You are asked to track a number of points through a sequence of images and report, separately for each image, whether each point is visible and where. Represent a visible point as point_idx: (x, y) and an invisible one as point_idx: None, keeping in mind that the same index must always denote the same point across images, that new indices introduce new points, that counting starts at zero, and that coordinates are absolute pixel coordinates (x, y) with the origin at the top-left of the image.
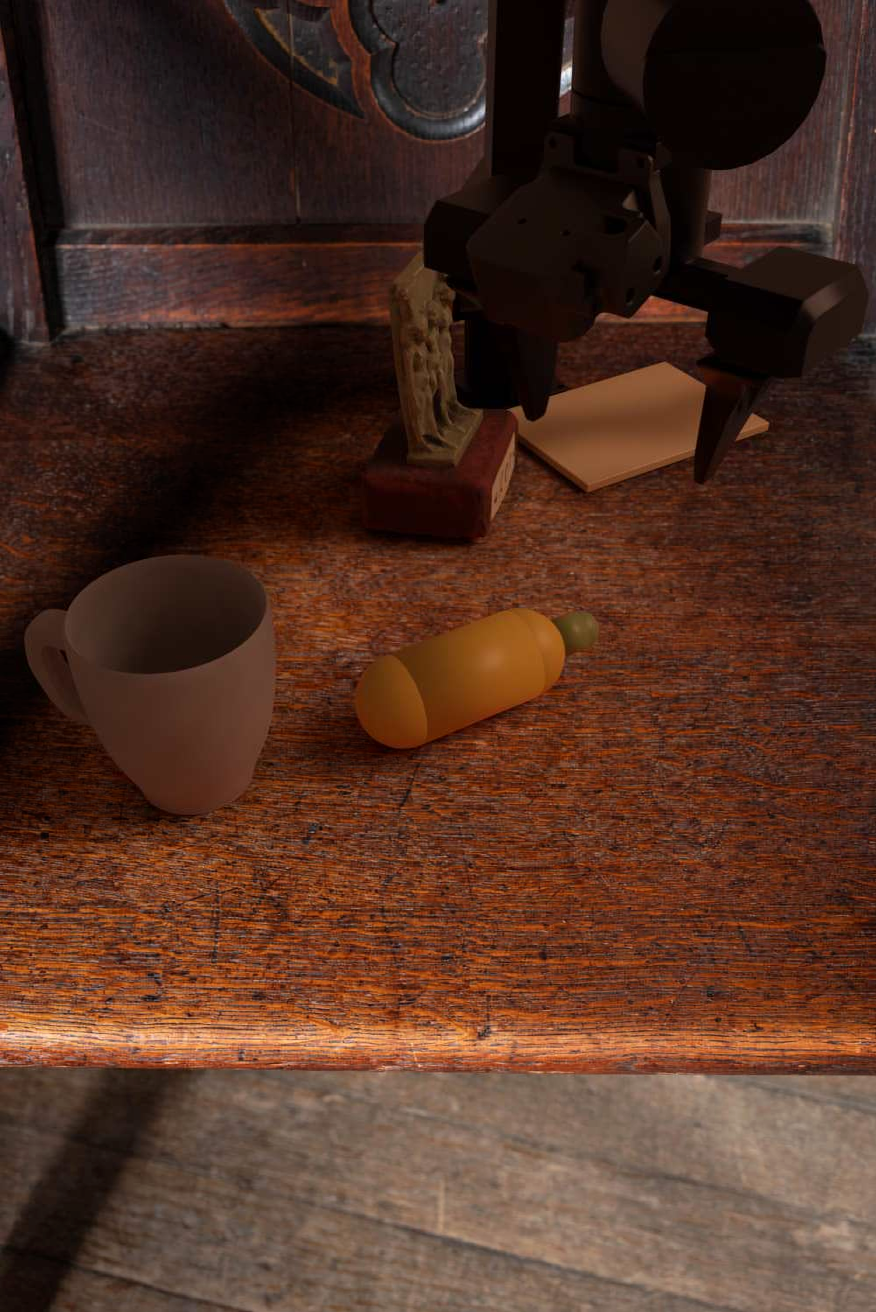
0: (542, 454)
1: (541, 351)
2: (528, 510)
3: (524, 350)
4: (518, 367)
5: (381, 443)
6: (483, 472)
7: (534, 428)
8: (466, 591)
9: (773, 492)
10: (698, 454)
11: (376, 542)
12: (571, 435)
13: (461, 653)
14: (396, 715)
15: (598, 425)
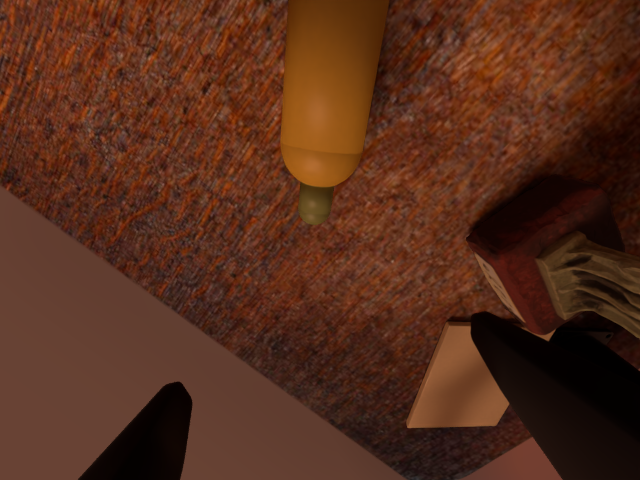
0: None
1: (576, 449)
2: (464, 282)
3: (622, 440)
4: (588, 386)
5: (617, 232)
6: (509, 270)
7: None
8: (434, 189)
9: (362, 393)
10: (138, 434)
11: (533, 172)
12: None
13: (320, 58)
14: None
15: (486, 366)
